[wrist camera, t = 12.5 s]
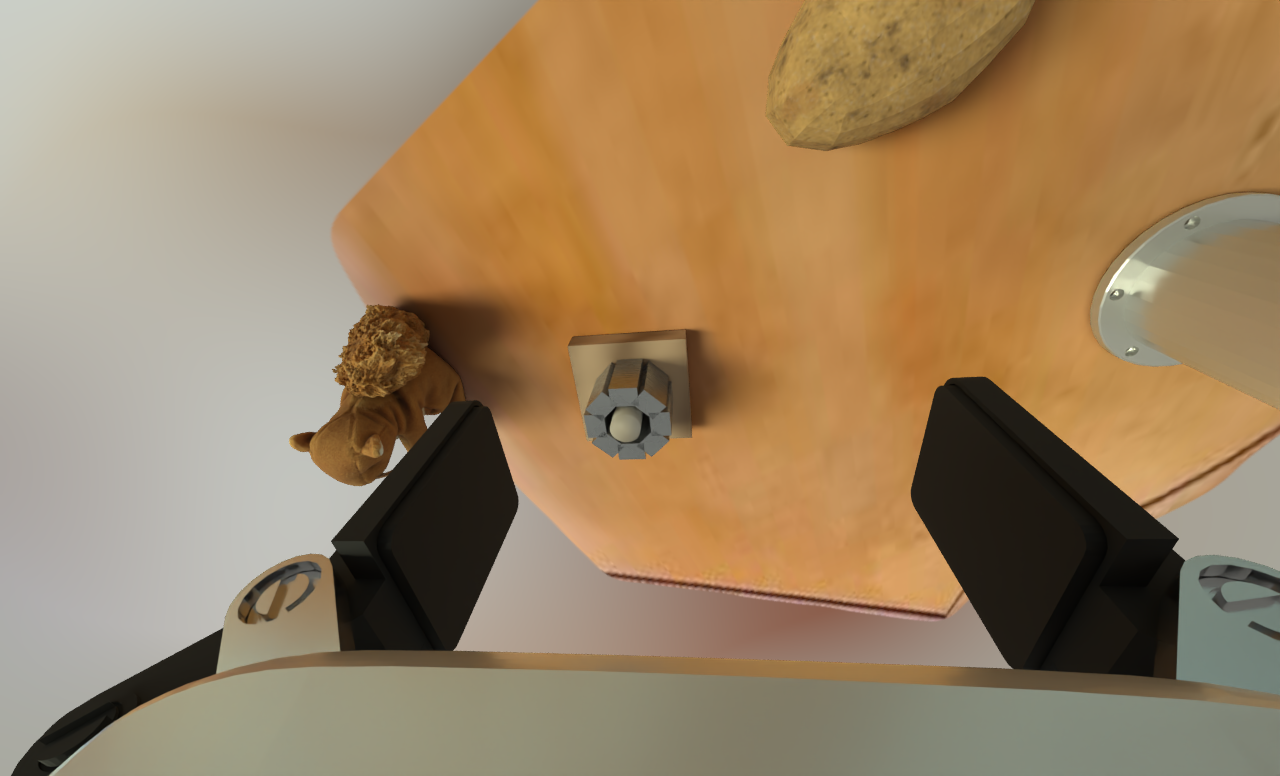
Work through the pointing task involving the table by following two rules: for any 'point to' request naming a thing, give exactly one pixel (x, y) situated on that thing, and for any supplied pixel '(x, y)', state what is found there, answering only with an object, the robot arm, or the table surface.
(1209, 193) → the table surface
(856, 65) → the potato
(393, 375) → the stuffed squirrel
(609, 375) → the hub
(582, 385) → the shaft stand
